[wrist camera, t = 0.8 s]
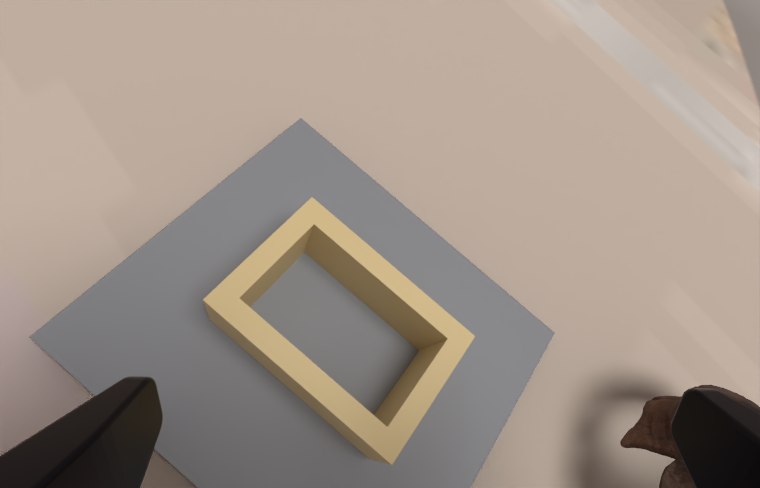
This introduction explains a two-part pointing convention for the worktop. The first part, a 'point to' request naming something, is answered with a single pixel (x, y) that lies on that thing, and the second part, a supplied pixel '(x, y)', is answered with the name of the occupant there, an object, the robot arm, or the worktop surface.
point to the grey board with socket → (307, 333)
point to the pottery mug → (668, 435)
